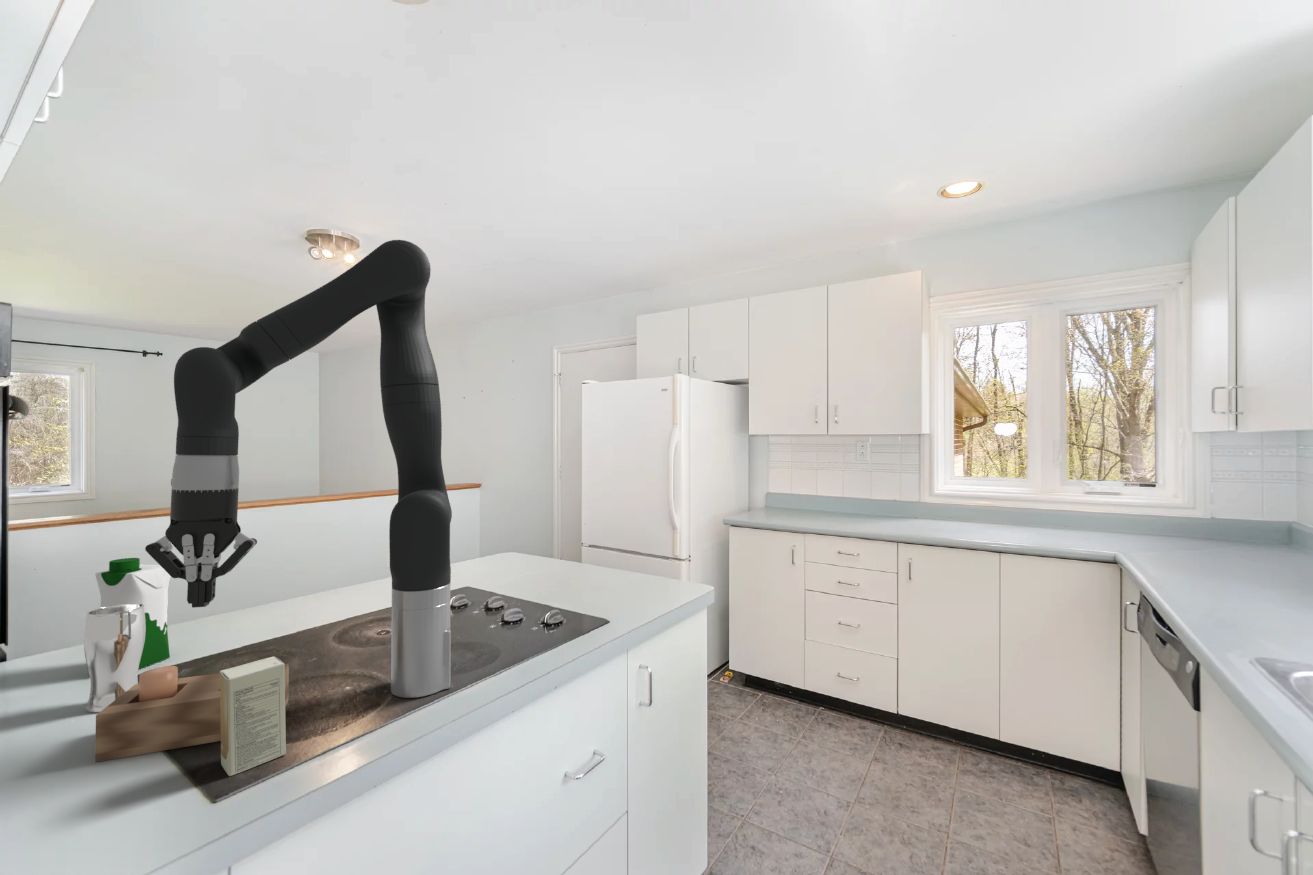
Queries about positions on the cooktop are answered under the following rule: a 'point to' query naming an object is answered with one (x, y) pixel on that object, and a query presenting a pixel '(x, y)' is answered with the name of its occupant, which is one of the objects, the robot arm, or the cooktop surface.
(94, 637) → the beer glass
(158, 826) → the cooktop surface
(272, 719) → the skincare box
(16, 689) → the cooktop surface
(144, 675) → the tan rounded oval piece
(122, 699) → the walnut block
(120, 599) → the milk carton
